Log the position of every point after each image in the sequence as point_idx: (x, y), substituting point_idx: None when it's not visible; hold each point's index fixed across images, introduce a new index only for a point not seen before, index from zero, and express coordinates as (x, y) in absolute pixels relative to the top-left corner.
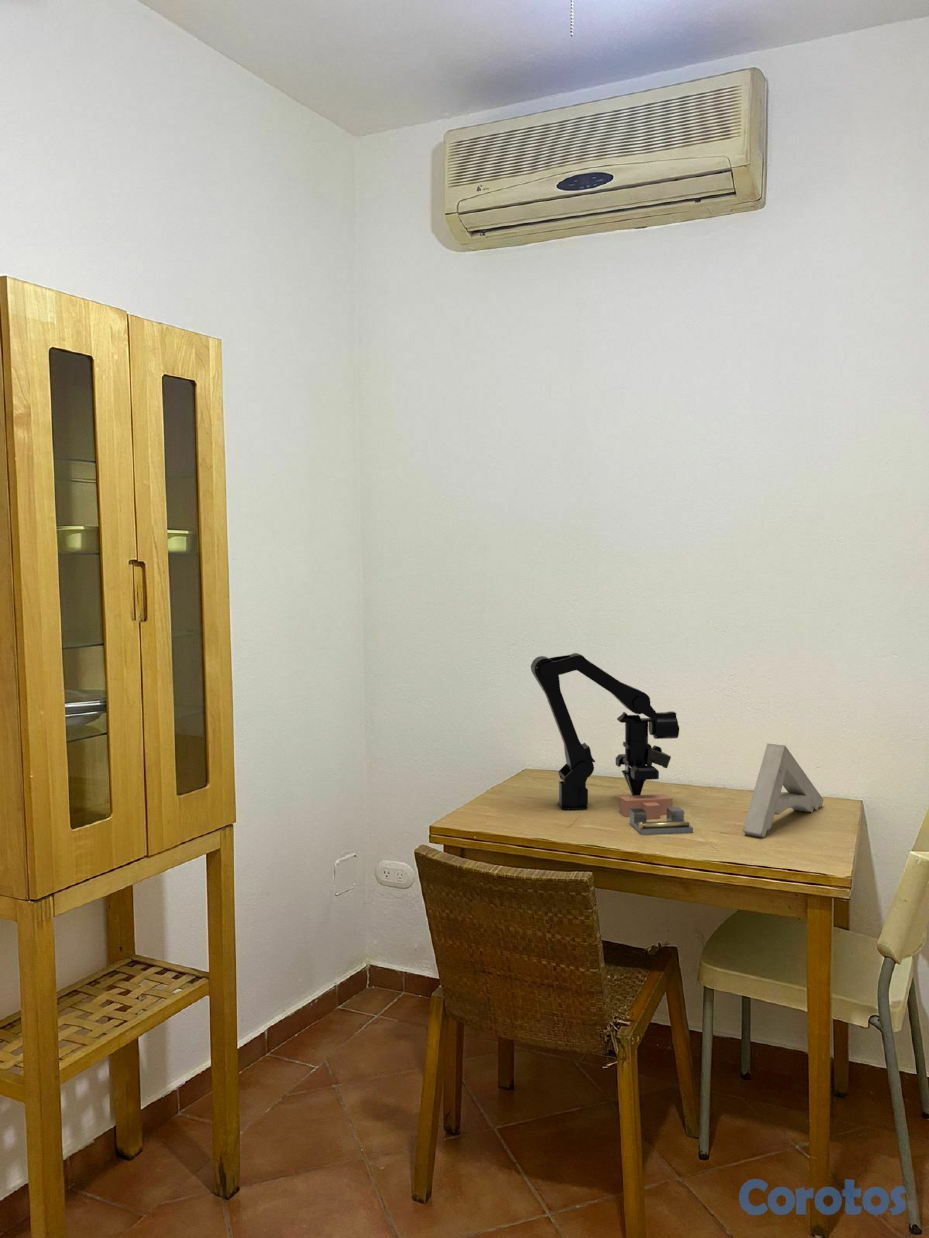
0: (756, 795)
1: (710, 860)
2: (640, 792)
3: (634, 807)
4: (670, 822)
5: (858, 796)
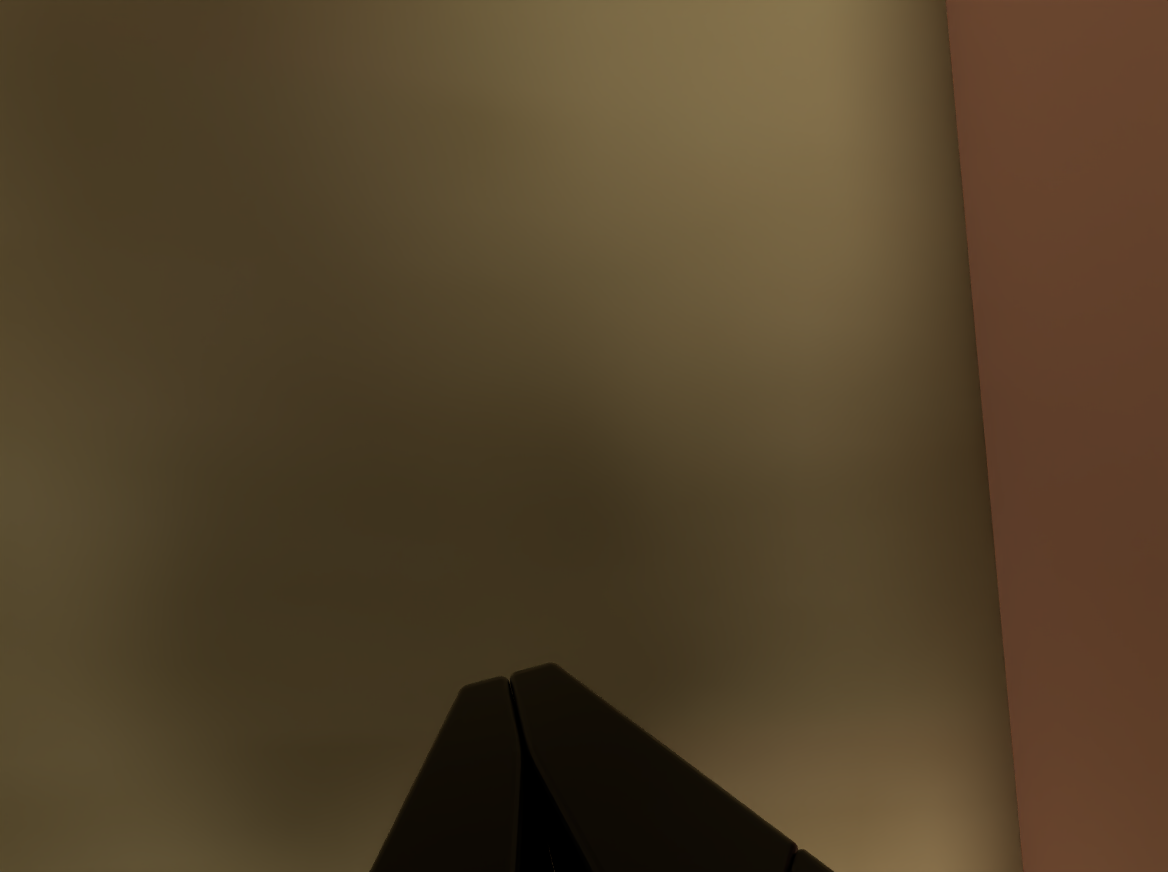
0: None
1: None
2: (687, 776)
3: None
4: None
5: None
